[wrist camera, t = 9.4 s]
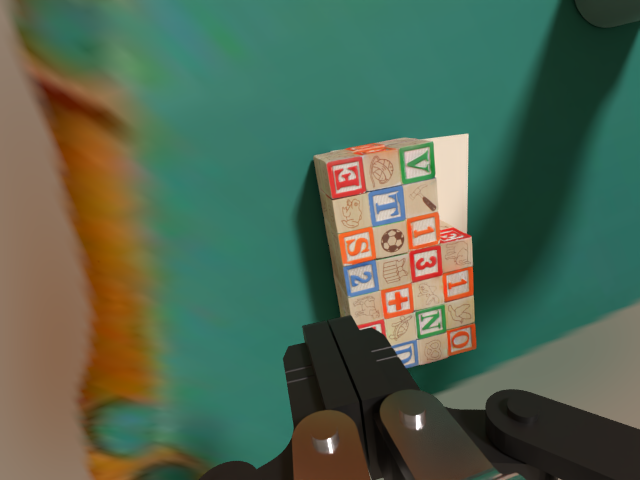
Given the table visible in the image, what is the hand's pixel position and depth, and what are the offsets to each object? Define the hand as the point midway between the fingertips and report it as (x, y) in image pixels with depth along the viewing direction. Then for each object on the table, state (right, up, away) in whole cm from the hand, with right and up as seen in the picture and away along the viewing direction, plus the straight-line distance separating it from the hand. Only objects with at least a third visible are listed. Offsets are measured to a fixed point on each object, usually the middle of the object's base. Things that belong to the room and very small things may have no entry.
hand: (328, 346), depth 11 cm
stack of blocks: (+1, 0, +25) cm, 25 cm away
